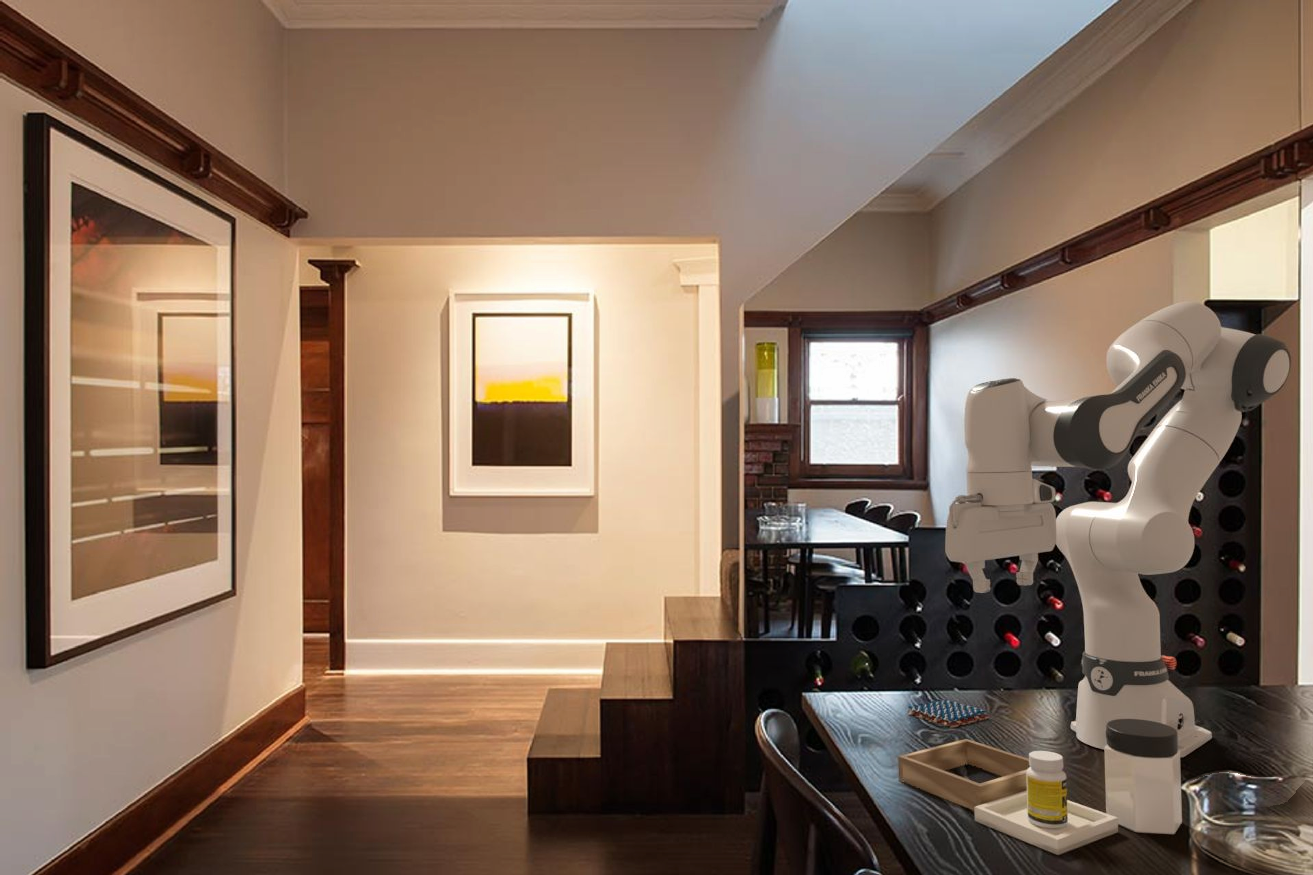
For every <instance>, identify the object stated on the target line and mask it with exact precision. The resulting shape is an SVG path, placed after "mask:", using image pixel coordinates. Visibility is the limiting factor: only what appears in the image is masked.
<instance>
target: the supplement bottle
mask: <svg viewBox="0 0 1313 875" xmlns="http://www.w3.org/2000/svg"><path fill="white" fill-rule="evenodd" d="M1028 759H1029V765H1030V766H1031V767H1029V768H1028V769H1027V772H1026V781H1027V818H1028V820H1029V821H1030V822H1031V823H1032V824H1034V825H1036V826H1039V827H1043V828H1051V829H1058V828H1063V827H1065V826H1066V825H1067V823H1068V813H1067V800H1068V789H1067V787H1068V786H1067V785H1068V784H1067V781H1068V778H1067V774H1066V773H1065V771H1063V770H1064V757H1063V756H1062V755H1061V754H1060V753H1057V752H1053V751H1048V750H1033V751H1030V752H1029V754H1028Z"/></svg>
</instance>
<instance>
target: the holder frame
mask: <svg viewBox="0 0 1313 875" xmlns="http://www.w3.org/2000/svg"><path fill="white" fill-rule="evenodd" d="M897 761H898V781H899V782H902V781H904V782H906V783H905V784H907V783H908V784H907V785H909V784H911V785H910V786H912V787H914V786H915V788H917V789H919V788H920V789H919V790H921V791H924V792H927V793H929V794H932V795H934V796H936V797H939V798H941V799H944V800H947V801H948V802H952V803H954V804H957V805H958V806H961V807H964V808H967V809H970V810H971V809H972V811H973V812H975V809H974V807H976V806H979V805H982V804H985V803H988V802H992V801H995V800H998V799H1001V798H1004V797H1007V796H1011V795H1014V794H1017V793H1020V792H1023V791H1026V790H1027V781H1026V772H1027V769H1028V768H1029V767H1031V766H1030V765H1029V757H1024V756H1021V755H1019V754H1018V755H1017V754H1015V753H1011V752H1008V751H1005V750H1002V749H1000V748H997V747H993V746H990V745H987V744H983V743H980V742H977V741H974V740H971V739H968V738H965V739H960V740H955V741H953V742H949V743H945V744H940V745H937V746H932V747H929V748H925V749H921V750H918V751H914V752H909V753H906V754H902V755H899V756H898V759H897ZM965 764H966V765H968V764H970V765H969V766H971V765H972V766H971V767H974V766H976V767H975V768H977V767H978V769H980V768H982V769H981V770H983V771H986V772H989V773H992V774H995V775H997V776H1001V777H998V778H995V779H990V780H988V781H984V782H980V783H979V782H978V781H977V782H976V781H973V780H971V779H968V778H965V777H963V776H960V775H958V774H955V773H952V772H949V770H951V769H955V768H958V767H963V766H966V765H965ZM904 782H903V783H904Z"/></svg>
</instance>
